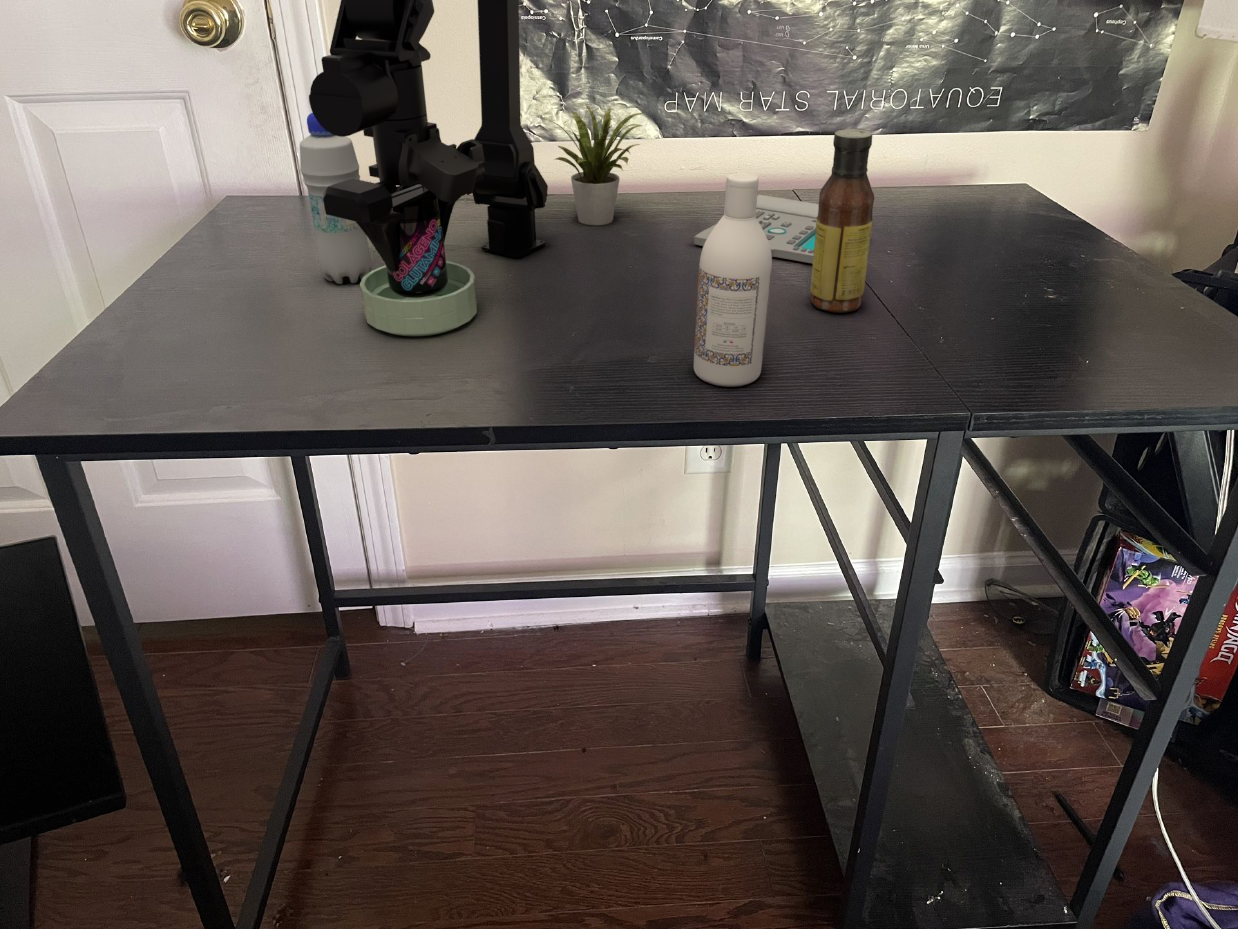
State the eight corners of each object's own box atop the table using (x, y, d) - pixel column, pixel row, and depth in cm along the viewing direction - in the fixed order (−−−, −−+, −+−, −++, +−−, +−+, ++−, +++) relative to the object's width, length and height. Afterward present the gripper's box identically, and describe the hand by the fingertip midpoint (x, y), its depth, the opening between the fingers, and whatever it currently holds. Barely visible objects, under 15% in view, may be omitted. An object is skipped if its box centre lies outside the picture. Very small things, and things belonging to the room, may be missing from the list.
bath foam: (718, 352, 97) (732, 162, 86) (773, 371, 93) (795, 175, 82) (679, 374, 92) (689, 177, 81) (735, 396, 89) (754, 192, 78)
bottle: (361, 289, 111) (334, 119, 100) (310, 285, 112) (278, 115, 101) (383, 270, 116) (360, 106, 105) (335, 266, 117) (307, 103, 106)
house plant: (669, 216, 136) (674, 101, 127) (620, 242, 126) (621, 119, 117) (590, 200, 142) (589, 90, 133) (538, 223, 132) (533, 106, 123)
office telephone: (759, 187, 140) (886, 207, 132) (757, 204, 142) (883, 225, 133) (694, 226, 123) (835, 252, 115) (693, 245, 125) (832, 272, 116)
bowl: (418, 287, 111) (414, 252, 109) (499, 309, 106) (496, 273, 103) (342, 323, 102) (336, 285, 100) (426, 349, 97) (422, 310, 94)
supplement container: (381, 298, 100) (366, 206, 94) (398, 274, 105) (384, 185, 99) (441, 300, 99) (430, 208, 94) (455, 276, 105) (445, 187, 99)
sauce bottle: (864, 298, 110) (892, 128, 99) (858, 318, 105) (887, 141, 94) (810, 291, 111) (832, 123, 100) (801, 310, 106) (823, 136, 96)
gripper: (392, 144, 82) (413, 304, 90) (517, 107, 95) (524, 250, 104) (306, 128, 87) (334, 282, 95) (436, 95, 100) (450, 232, 109)
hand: (416, 260), depth 101 cm, fingers closed on supplement container, 7 cm apart
